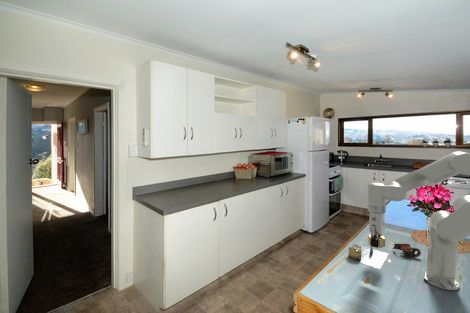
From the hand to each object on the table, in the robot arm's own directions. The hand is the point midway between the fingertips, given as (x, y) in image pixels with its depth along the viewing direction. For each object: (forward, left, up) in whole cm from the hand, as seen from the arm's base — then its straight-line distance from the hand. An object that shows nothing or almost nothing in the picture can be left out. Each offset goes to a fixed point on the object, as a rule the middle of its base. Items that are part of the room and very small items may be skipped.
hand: (376, 243), depth 116 cm
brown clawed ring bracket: (+14, -18, -12) cm, 26 cm away
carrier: (+7, +2, -11) cm, 13 cm away
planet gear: (0, 0, 0) cm, 0 cm away
